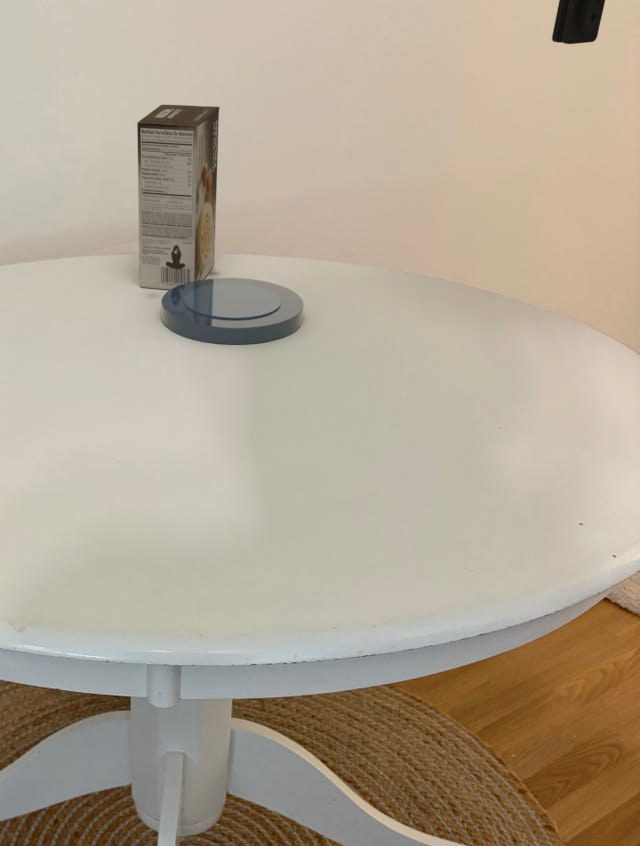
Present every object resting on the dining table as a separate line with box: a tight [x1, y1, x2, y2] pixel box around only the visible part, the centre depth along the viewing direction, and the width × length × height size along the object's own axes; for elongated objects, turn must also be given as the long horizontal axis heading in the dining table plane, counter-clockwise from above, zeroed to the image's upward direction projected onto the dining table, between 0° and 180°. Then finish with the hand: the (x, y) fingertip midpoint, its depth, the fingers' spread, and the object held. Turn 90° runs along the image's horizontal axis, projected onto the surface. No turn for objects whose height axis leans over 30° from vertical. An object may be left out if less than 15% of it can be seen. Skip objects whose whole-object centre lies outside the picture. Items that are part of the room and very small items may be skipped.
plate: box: [160, 277, 305, 345], centre depth 98 cm, size 14×14×2 cm
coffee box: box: [136, 104, 220, 291], centre depth 103 cm, size 9×6×16 cm
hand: (573, 41), depth 78 cm, fingers closed
